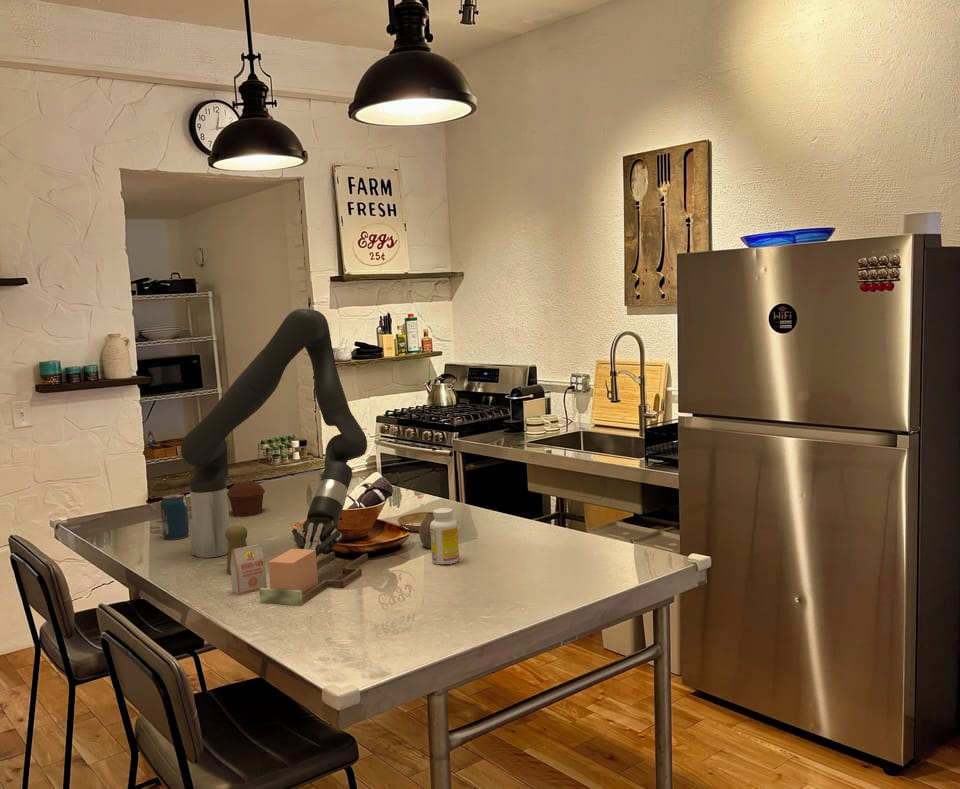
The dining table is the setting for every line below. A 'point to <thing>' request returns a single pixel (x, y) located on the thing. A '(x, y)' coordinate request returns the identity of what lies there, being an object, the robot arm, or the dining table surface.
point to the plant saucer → (412, 520)
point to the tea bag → (248, 569)
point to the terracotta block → (294, 570)
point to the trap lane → (296, 595)
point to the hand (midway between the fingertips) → (306, 568)
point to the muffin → (246, 498)
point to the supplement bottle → (444, 537)
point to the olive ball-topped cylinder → (235, 541)
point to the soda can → (174, 516)
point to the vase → (426, 530)
